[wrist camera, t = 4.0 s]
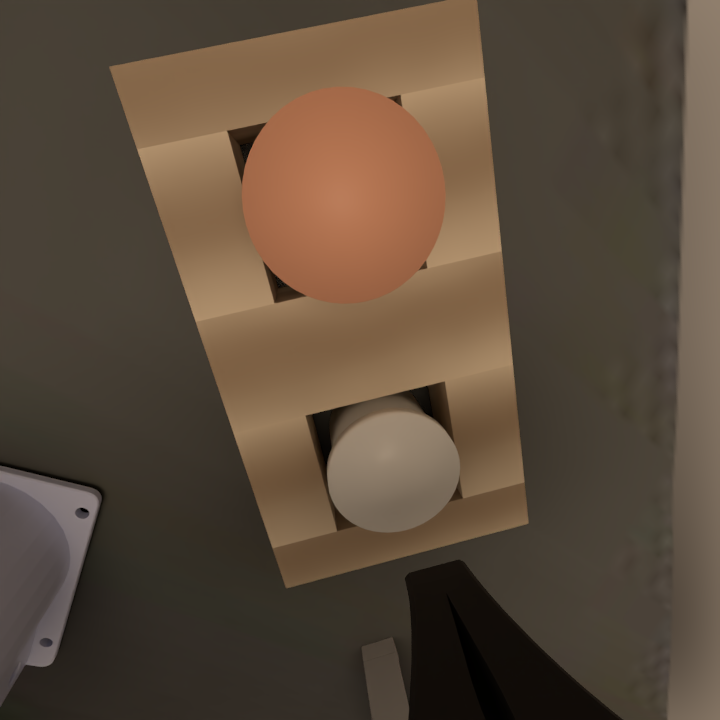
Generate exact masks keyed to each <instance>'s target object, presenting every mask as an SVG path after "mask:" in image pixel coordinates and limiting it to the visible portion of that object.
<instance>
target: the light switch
mask: <svg viewBox="0 0 720 720" xmlns="http://www.w3.org/2000/svg"><path fill="white" fill-rule="evenodd" d="M361 649H362V656H363V662H364V669H365V676H366V683H367V690H368V696H369V703H370V710H371V716H372V720H408V716H409V704H408V700H407V696H406V691H405V687H404V682H403V678H402V674H401V669H400V665H399V657H398V653H397V650H396V647H395V644H394V640H393V638H392V637H391V638H388V639H384V640H381V641H378V642H375V643H372V644H368V645H365V646H362V647H361Z"/></svg>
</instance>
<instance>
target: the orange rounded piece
mask: <svg viewBox="0 0 720 720" xmlns="http://www.w3.org/2000/svg"><path fill="white" fill-rule="evenodd" d="M445 199H446V193H445V180H444V175H443V170H442V166H441V163H440V160H439V157H438V154H437V152H436V150H435V147H434V145H433V143H432V141H431V140H430V138H429V136H428V135H427V133H426V132H425V130H424V129H423V127H422V126H421V125H420V124H419V123H418V121H417V120H416V119H415V118H414V117H413V116H412V115H411V114H410V113H409V112H407V111H406V110H405V109H404V108H403V107H401V106H400V105H398V104H397V103H395V102H394V101H393V100H391V99H389V98H387V97H385V96H383V95H381V94H378V93H375V92H372V91H369V90H366V89H361V88H355V87H331V88H323V89H319V90H316V91H312V92H309V93H307V94H305V95H302V96H300V97H298V98H296V99H294V100H293V101H291V102H290V103H288V104H287V105H285V106H284V107H283V108H281V109H280V110H279V111H278V112H277V113H276V114H275V115H273V116H272V118H271V119H270V120H269V121H268V122H267V123H266V125H265V126H264V127H263V128H262V130H261V132H260V133H259V135H258V136H257V138H256V139H255V141H254V144H253V146H252V148H251V150H250V152H249V155H248V158H247V162H246V165H245V169H244V175H243V181H242V205H243V213H244V218H245V223H246V226H247V229H248V232H249V235H250V238H251V240H252V242H253V244H254V246H255V248H256V250H257V252H258V253H259V255H260V256H261V258H262V259H263V261H264V262H265V264H266V265H267V266H268V267H269V268H270V270H271V271H272V272H273V273H274V274H275V275H276V276H277V277H279V278H280V279H281V280H282V281H283V282H284V283H286V284H287V285H289V286H290V287H291V288H293V289H294V290H296V291H298V292H300V293H302V294H304V295H306V296H309V297H311V298H314V299H317V300H321V301H325V302H330V303H340V304H349V303H359V302H365V301H369V300H373V299H376V298H379V297H381V296H383V295H386V294H388V293H390V292H392V291H393V290H395V289H397V288H398V287H400V286H401V285H403V284H404V283H405V282H406V281H408V280H409V279H410V278H411V277H412V276H413V275H414V274H415V273H416V272H417V271H418V270H419V269H420V268H421V266H422V265H423V264H424V262H425V261H426V260H427V258H428V256H429V255H430V253H431V251H432V250H433V248H434V246H435V243H436V241H437V239H438V236H439V233H440V230H441V227H442V223H443V218H444V212H445Z"/></svg>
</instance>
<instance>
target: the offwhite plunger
mask: <svg viewBox="0 0 720 720" xmlns="http://www.w3.org/2000/svg"><path fill="white" fill-rule="evenodd" d="M329 433H330V440H331V447H332V449H331V451H330V454H329V458H328V462H327V480H328V487H329V493H330V496H331V499H332V501H333V503H334V505H335V507H336V508H337V509H338V511H339V512H340V513H341V514H342V515H343V516H344V517H345V518H346V519H347V520H349V521H350V522H351V523H353V524H355V525H357V526H358V527H361V528H364V529H366V530H370V531H375V532H386V533H391V532H400V531H404V530H408V529H411V528H414V527H417V526H419V525H421V524H423V523H425V522H427V521H428V520H430V519H431V518H433V517H434V516H435V515H437V514H438V513H439V512H440V511H441V510H442V509H443V508H444V507H445V505H446V504H447V503H448V502H449V500H450V499H451V497H452V495H453V493H454V492H455V490H456V487H457V484H458V480H459V476H460V460H459V455H458V452H457V449H456V447H455V445H454V443H453V441H452V440H451V438H450V436H449V435H448V434H447V432H446V431H445V429H444V428H443V427H442V426H441V425H440V424H439V423H438V422H437V421H436V420H435V419H433V418H432V417H430V416H429V415H427V414H425V413H424V412H423V410H422V408H421V407H420V405H419V404H418V402H417V400H416V399H415V397H414V396H413V395H412V394H411V393H410V392H409V391H403V392H399V393H395V394H391V395H387V396H383V397H379V398H375V399H371V400H367V401H363V402H359V403H355V404H351V405H347V406H343V407H338V408H334V409H333V410H332V412H331V416H330V420H329Z"/></svg>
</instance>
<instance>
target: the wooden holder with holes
mask: <svg viewBox="0 0 720 720" xmlns="http://www.w3.org/2000/svg"><path fill="white" fill-rule="evenodd" d="M110 70H111V73H112V76H113V79H114V82H115V85H116V88H117V91H118V94H119V97H120V100H121V103H122V106H123V109H124V112H125V115H126V118H127V120H128V123H129V126H130V129H131V132H132V135H133V138H134V141H135V144H136V147H137V150H138V153H139V156H140V159H141V162H142V165H143V168H144V171H145V174H146V177H147V179H148V182H149V185H150V188H151V191H152V194H153V197H154V200H155V203H156V206H157V209H158V212H159V215H160V218H161V221H162V224H163V227H164V230H165V233H166V235H167V238H168V241H169V244H170V247H171V250H172V253H173V256H174V259H175V262H176V265H177V268H178V271H179V274H180V277H181V280H182V283H183V286H184V289H185V292H186V294H187V297H188V300H189V303H190V306H191V309H192V312H193V315H194V318H195V321H196V324H197V327H198V330H199V333H200V336H201V339H202V342H203V345H204V348H205V350H206V353H207V356H208V359H209V362H210V365H211V368H212V371H213V374H214V377H215V380H216V383H217V386H218V389H219V392H220V395H221V398H222V401H223V404H224V407H225V409H226V412H227V415H228V418H229V421H230V424H231V427H232V430H233V433H234V436H235V439H236V442H237V445H238V448H239V451H240V454H241V457H242V460H243V463H244V465H245V468H246V471H247V474H248V477H249V480H250V483H251V486H252V489H253V492H254V495H255V498H256V501H257V504H258V507H259V510H260V513H261V516H262V519H263V521H264V524H265V527H266V530H267V533H268V536H269V539H270V542H271V545H272V548H273V551H274V554H275V557H276V560H277V563H278V566H279V569H280V572H281V575H282V578H283V580H284V583H285V586H286V588H289V587H293V586H297V585H301V584H304V583H308V582H312V581H316V580H319V579H323V578H327V577H331V576H334V575H338V574H342V573H346V572H349V571H353V570H357V569H360V568H364V567H368V566H372V565H375V564H379V563H383V562H387V561H390V560H394V559H398V558H402V557H405V556H409V555H413V554H417V553H420V552H424V551H428V550H431V549H435V548H439V547H443V546H446V545H450V544H454V543H458V542H461V541H465V540H469V539H473V538H476V537H480V536H484V535H488V534H491V533H495V532H499V531H502V530H506V529H510V528H514V527H517V526H521V525H525V524H529V523H528V513H527V503H526V492H525V482H524V472H523V462H522V452H521V442H520V432H519V422H518V411H517V401H516V391H515V381H514V371H513V361H512V351H511V340H510V330H509V320H508V310H507V300H506V290H505V280H504V270H503V259H502V249H501V239H500V229H499V219H498V209H497V199H496V189H495V178H494V168H493V158H492V148H491V138H490V128H489V118H488V108H487V97H486V87H485V77H484V67H483V57H482V47H481V37H480V27H479V16H478V6H477V0H447V1H442V2H437V3H432V4H427V5H421V6H416V7H411V8H406V9H401V10H396V11H391V12H386V13H381V14H376V15H371V16H365V17H360V18H355V19H350V20H345V21H340V22H335V23H330V24H325V25H320V26H315V27H309V28H304V29H299V30H294V31H289V32H284V33H279V34H274V35H269V36H264V37H259V38H253V39H248V40H243V41H238V42H233V43H228V44H223V45H218V46H213V47H208V48H203V49H197V50H192V51H187V52H182V53H177V54H172V55H167V56H162V57H157V58H152V59H147V60H141V61H136V62H131V63H126V64H121V65H116V66H111V67H110ZM331 87H355V88H361V89H366V90H369V91H372V92H375V93H378V94H381V95H383V96H385V97H387V98H389V99H391V100H393V101H394V102H395V103H397V104H398V105H400V106H401V107H403V108H404V109H405V110H406V111H407V112H409V113H410V114H411V115H412V116H413V117H414V118H415V119H416V120H417V121H418V123H419V124H420V125H421V126H422V127H423V129H424V130H425V132H426V133H427V135H428V136H429V138H430V140H431V141H432V143H433V145H434V147H435V150H436V152H437V154H438V157H439V160H440V163H441V166H442V170H443V175H444V180H445V193H446V199H445V212H444V218H443V223H442V227H441V230H440V233H439V236H438V239H437V241H436V243H435V246H434V248H433V250H432V251H431V253H430V255H429V256H428V258H427V260H426V261H425V262H424V264H423V265H422V266H421V268H420V269H419V270H418V271H417V272H416V273H415V274H414V275H413V276H412V277H411V278H410V279H409V280H408V281H406V282H405V283H404V284H403V285H401V286H400V287H398V288H397V289H395V290H393V291H392V292H390V293H388V294H386V295H383V296H381V297H379V298H376V299H373V300H369V301H365V302H359V303H349V304H340V303H330V302H325V301H321V300H317V299H314V298H311V297H309V296H306V295H304V294H302V293H300V292H298V291H296V290H294V289H293V288H291V287H290V286H286V287H281V288H278V285H277V282H276V278H275V274H274V273H273V272H272V271H271V270H270V268H269V267H268V266H267V265H266V264H265V262H264V261H263V259H262V258H261V256H260V255H259V253H258V252H257V250H256V248H255V246H254V244H253V242H252V240H251V238H250V235H249V232H248V229H247V226H246V223H245V218H244V213H243V205H242V181H243V175H244V169H245V163H244V159H243V155H242V152H241V148H240V145H243V144H247V143H252V142H254V141H255V139H256V138H257V136H258V135H259V133H260V132H261V130H262V128H263V127H264V126H265V125H266V123H267V122H268V121H269V120H270V119H271V118H272V116H273V115H275V114H276V113H277V112H278V111H279V110H280V109H281V108H283V107H284V106H285V105H287V104H288V103H290V102H291V101H293V100H294V99H296V98H298V97H300V96H302V95H305V94H307V93H309V92H312V91H316V90H319V89H323V88H331ZM424 386H428V390H429V396H430V402H431V408H432V414H433V419H435V420H436V421H437V422H438V423H439V424H440V425H441V426H442V427H443V428H444V429H445V431H446V432H447V434H448V435H449V436H450V438H451V440H452V441H453V443H454V445H455V447H456V449H457V452H458V455H459V460H460V476H459V480H458V484H457V487H456V490H455V492H454V493H453V495H452V497H451V499H450V500H449V502H448V503H447V504H446V505H445V507H444V508H443V509H442V510H441V511H440V512H439V513H438V514H437V515H435V516H434V517H433V518H431V519H430V520H428V521H427V522H425V523H423V524H421V525H419V526H417V527H414V528H411V529H408V530H404V531H400V532H391V533H386V532H375V531H370V530H366V529H364V528H361V527H358V526H357V525H355V524H353V523H351V522H350V521H349V520H347V519H346V518H345V517H344V516H343V515H342V514H341V513H340V512H339V511H338V509H337V508H336V507H335V505H334V503H333V501H332V499H331V496H330V493H329V487H328V480H327V468H326V464H325V460H324V457H323V453H322V449H321V445H320V442H319V438H318V434H317V430H316V427H315V423H314V419H313V416H312V414H314V413H318V412H322V411H326V410H330V409H334V408H338V407H343V406H347V405H351V404H355V403H359V402H363V401H367V400H371V399H375V398H379V397H383V396H387V395H391V394H395V393H399V392H403V391H408V390H412V389H416V388H420V387H424Z"/></svg>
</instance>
